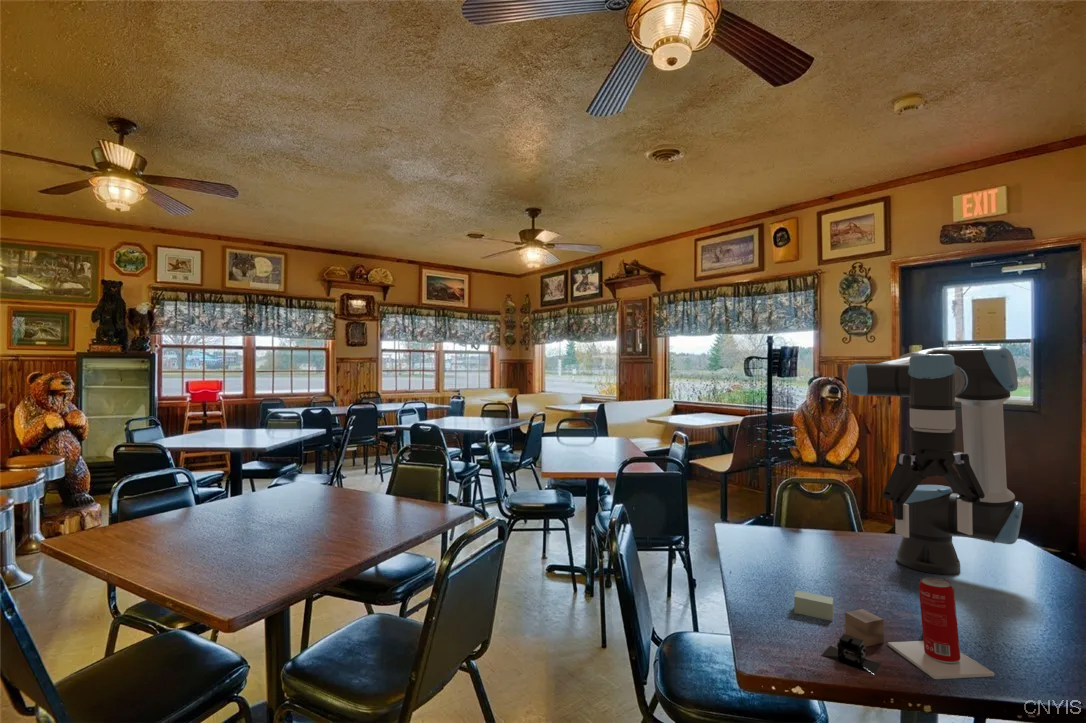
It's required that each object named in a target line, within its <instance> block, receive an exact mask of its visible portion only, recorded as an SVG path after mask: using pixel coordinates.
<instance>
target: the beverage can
mask: <svg viewBox="0 0 1086 723" xmlns="http://www.w3.org/2000/svg"><path fill="white" fill-rule="evenodd" d="M918 594H919V604H920V616H921V627H922V628H921V629H922V637H923V638H922V639H923V640H922V641H924V651H925V653H926V654H927V655H928V656H929V657H930V658H932V659H934V660H936V661H939V662H944V663H956V662H958V661H959V660H960V652H961V650H960V649H961V648H960V640H959V639H960V638H959V629H958V628H959V626H958V618H957V607H956V604H957V603H956V597H955V589H954V587H953V586H952V582H950V581H948V580H947V579H944V578H939V577H935V576H925V577H921V578H920V580H919V584H918Z"/></svg>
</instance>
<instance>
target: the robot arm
mask: <svg viewBox="0 0 1086 723" xmlns="http://www.w3.org/2000/svg"><path fill="white" fill-rule="evenodd" d="M845 378H846V386H847V390H848V392H849V393H850V394H852V395H854V396H863V397H867V396H868V397H900V398H901V397H902V398H909V426H910V428H912V429H911V430H910V431H909V446H910V448H911V450H912V452H911V455H910V454H905V453H897V454H896V460H895V465H894V467H893V470H892V471H891V474H890V477H889V479H888V481H887V483H886V485H885V488H884V489H883V492H882V494H881V496H882V498H883V499H885V500H887V501H890V503H891V507H892V508H891V509H892V510H891V511H892V513H891V514H892V518H893V519H895V527H894V528H895V530H894V531H895V534H897V535H899V536H901V537H902V538H901V540H900V544H899V546H898V548H897V550H896V561H897V562H898V563H899V564H900V565H903V566H905V567H907V568H910V569H913V570H916V571H919V572H924V573H929V574H934V575H935V574H936V575H956V574H959V573H960V572H961V561H960V559H959V558H958V554H957V551H956V548H955V546H954V543H953V535H954V536H960V537H963V538H964V537H965V538H969V539H974V540H975V539H976V540H980V541H983V542H984V541H985V542H990V543H993V544H1004V545H1013V544H1015V543H1016V542H1017V540H1018V537H1019V534H1020V529H1021V524H1022V518H1023V512H1024V504H1023V503H1022V502H1020V501H1016V495H1015V494H1014V492H1012V491H1011V490H1010V489H1008V486H1007V464H1006V463H1007V462H1006V444H1005V423H1004V422H1005V421H1004V419H1005V418H1004V403H1005V402H1006V401H1008V399H1010V398H1011V392H1014V391H1015V392H1016V391H1017V390H1018V388H1019V386H1018V384H1019V383H1018V373H1017V367H1016V363H1015V359H1014V356H1013V354H1012V352H1011V351H1010V349H1009V348H1007V347H1006V346H997V345H995V346H993V345H971V346H952V347H951V346H950V347H949V346H948V347H945V346H944V347H943V346H942V347H941V346H940V347H931V348H927V349H926V348H925V349H920V350H917V351H916V350H915V351H913V352H907V353H905V354H902V355H901V356H899V357H897V359H892V360H887V361H883V362H878V363H861V364H852V365H850V366H849V367H848V368H847V372H846V377H845ZM956 400H957V401H959V402H960V404H961V405H960V407H961V420H962V421H961V423H962V437H963V441H962V442H963V452H960V451H955V450H956V449H957V436H956V435H957V434H956V433H955V432H954V431H953V430H955V429H956V427H957V425H956V423H957V422H956ZM953 464H954V466H955V468H954V466H953ZM936 476H937V477H943V478H944V479H945V480H946V481H947V482H948V484H949V485H950V486H947V485H941V484H940V485H939V484H920V483H921V482H922V481H923V480H926V479H927V477H930V478H931V477H936ZM953 490H954V491H955V492H956V493H955V492H953Z"/></svg>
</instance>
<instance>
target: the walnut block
mask: <svg viewBox="0 0 1086 723" xmlns="http://www.w3.org/2000/svg"><path fill="white" fill-rule="evenodd" d="M844 619H845V620H844V621H845V624H844V625H845V629H844V631H845V633H844V634H846V635H849V636H852V637H855V638H858V639H861V640H863V641H864V645H865V647H870V646H875V645H879V644H883V643H884V642H885V639H884V638H885V630H884V629H885V628H884V627H885V626H884V618H882V617H880V616H878V615H876V614H873V613H872V612H869V611H867V610H865V609H863V608H861V609H855V610H850V611H846V612H844Z"/></svg>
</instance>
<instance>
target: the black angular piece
mask: <svg viewBox="0 0 1086 723" xmlns="http://www.w3.org/2000/svg"><path fill="white" fill-rule="evenodd" d="M866 652H867V649H866V646H865V645H864V641H863V640H861V639H858V638H855V637H852V636H849V635H846V634H845V633H843V634H842V635H841V636H840V637H839V640H838V642H837V644H836V646H833V645H829V646H828V648H826V649H825V651H823V652H822V654H821V657H824V658H826V659H829V660H832V661H835V662H837V663H840V664H843V665H845V666H848V667H852V668H854V669H856V670H860V671H863V672H865V673H868V674H871V675H872V676H873V675H875V676H876V673H877V672H878V670H879V668H880V666H881V664H882V663H881V662H878V661H875V660H873V659H870V658H867V657H866Z"/></svg>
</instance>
